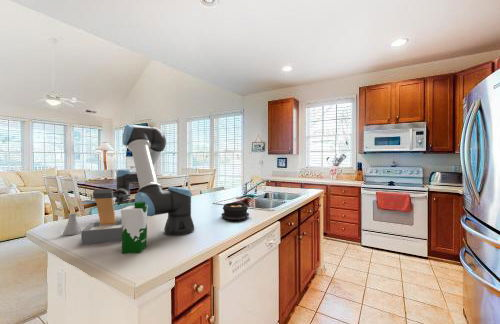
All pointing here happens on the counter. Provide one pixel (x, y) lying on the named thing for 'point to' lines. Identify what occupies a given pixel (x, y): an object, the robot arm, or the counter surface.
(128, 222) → the milk carton
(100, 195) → the lever
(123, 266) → the counter surface
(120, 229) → the switch box
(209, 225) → the counter surface
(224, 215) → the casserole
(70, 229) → the flask
